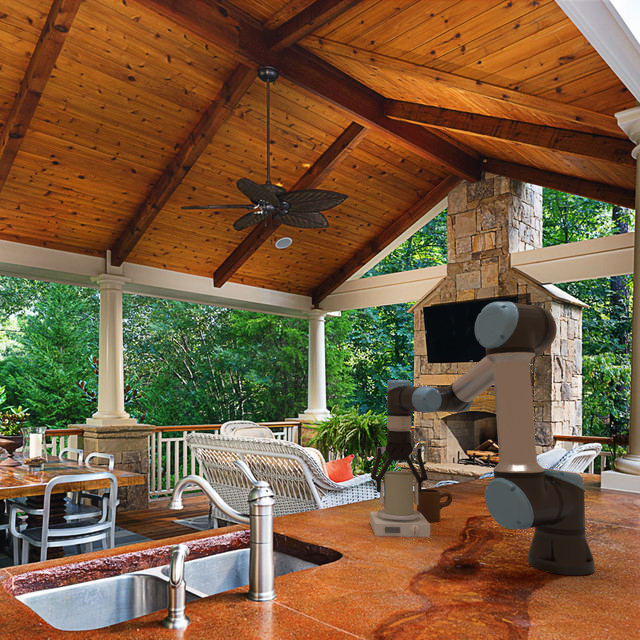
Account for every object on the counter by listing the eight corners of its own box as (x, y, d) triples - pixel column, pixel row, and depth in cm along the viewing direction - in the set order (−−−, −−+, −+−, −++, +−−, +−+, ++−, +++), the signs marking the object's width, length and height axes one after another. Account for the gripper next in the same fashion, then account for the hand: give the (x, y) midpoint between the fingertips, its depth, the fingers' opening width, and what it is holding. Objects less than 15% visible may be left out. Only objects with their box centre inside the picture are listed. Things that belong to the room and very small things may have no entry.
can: (413, 516, 171) (412, 474, 172) (382, 514, 172) (381, 473, 174) (414, 509, 180) (414, 469, 181) (385, 507, 181) (384, 468, 183)
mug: (448, 517, 194) (448, 488, 195) (456, 522, 187) (456, 492, 188) (413, 517, 192) (413, 488, 193) (420, 522, 185) (420, 492, 186)
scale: (430, 537, 167) (430, 519, 168) (375, 536, 167) (375, 518, 167) (420, 523, 183) (420, 507, 184) (370, 523, 183) (370, 506, 184)
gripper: (432, 429, 183) (433, 501, 180) (361, 428, 182) (361, 500, 180) (437, 431, 175) (438, 506, 173) (363, 430, 175) (363, 505, 172)
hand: (398, 503), depth 176 cm, fingers open, 10 cm apart
